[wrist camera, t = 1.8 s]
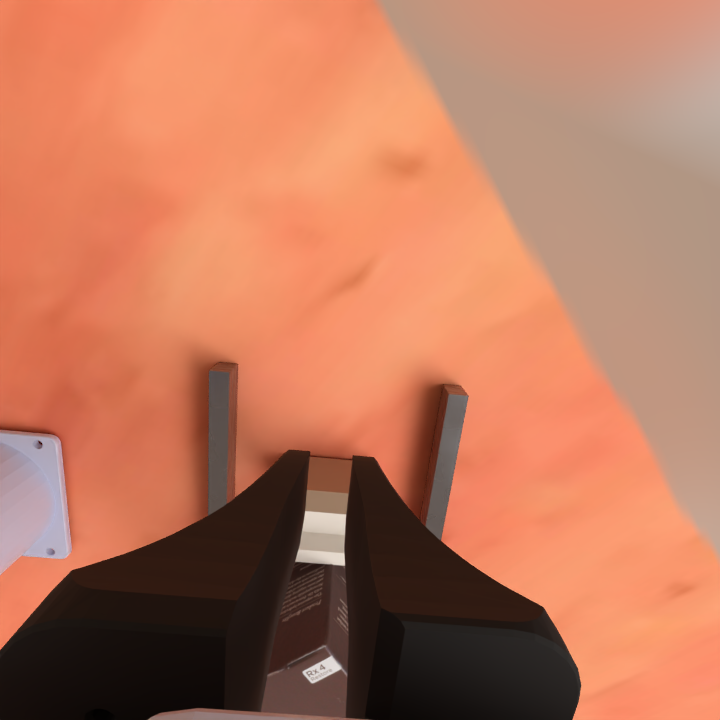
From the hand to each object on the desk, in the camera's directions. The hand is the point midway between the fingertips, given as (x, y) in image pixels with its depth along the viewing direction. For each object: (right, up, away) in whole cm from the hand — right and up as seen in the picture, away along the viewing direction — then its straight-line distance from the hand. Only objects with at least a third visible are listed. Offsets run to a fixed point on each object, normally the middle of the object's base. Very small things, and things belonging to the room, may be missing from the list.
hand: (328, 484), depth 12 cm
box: (-2, -11, +14) cm, 17 cm away
